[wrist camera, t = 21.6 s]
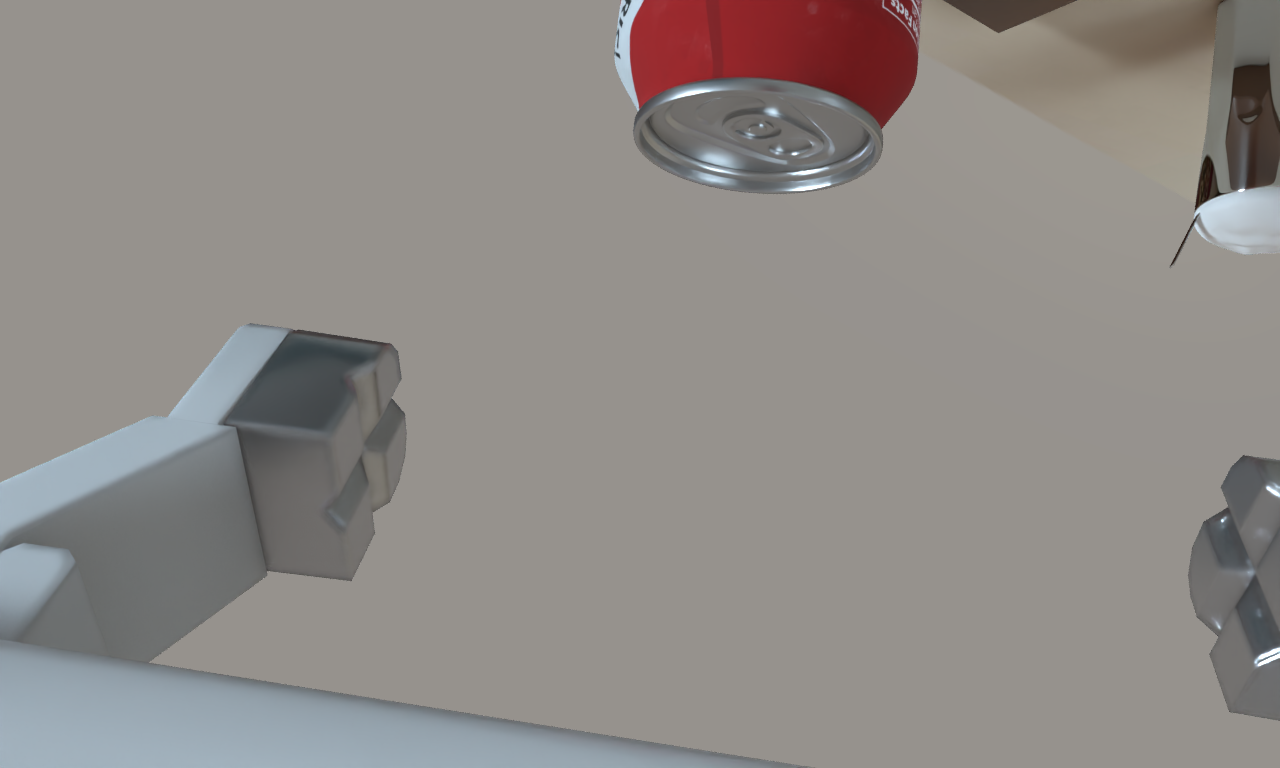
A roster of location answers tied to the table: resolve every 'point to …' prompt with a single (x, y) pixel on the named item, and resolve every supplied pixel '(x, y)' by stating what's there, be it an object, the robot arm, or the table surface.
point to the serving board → (1006, 11)
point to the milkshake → (1242, 133)
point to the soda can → (766, 87)
